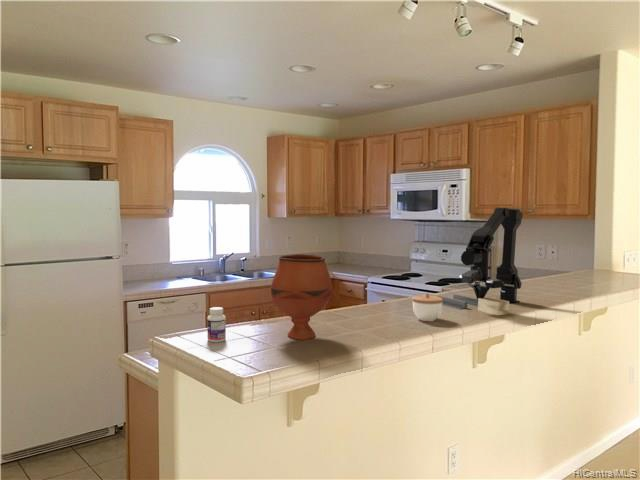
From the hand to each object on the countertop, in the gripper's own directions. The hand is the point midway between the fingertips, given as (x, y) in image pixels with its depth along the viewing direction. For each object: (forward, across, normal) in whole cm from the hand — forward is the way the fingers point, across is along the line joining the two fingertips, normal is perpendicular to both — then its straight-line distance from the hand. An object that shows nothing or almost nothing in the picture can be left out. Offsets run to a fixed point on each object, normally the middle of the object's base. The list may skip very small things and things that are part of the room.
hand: (479, 302), depth 204 cm
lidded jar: (+3, +5, -31) cm, 32 cm away
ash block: (+3, +6, 0) cm, 7 cm away
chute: (+2, -11, 0) cm, 11 cm away
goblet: (+3, +6, -82) cm, 82 cm away
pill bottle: (+3, -1, -107) cm, 107 cm away
